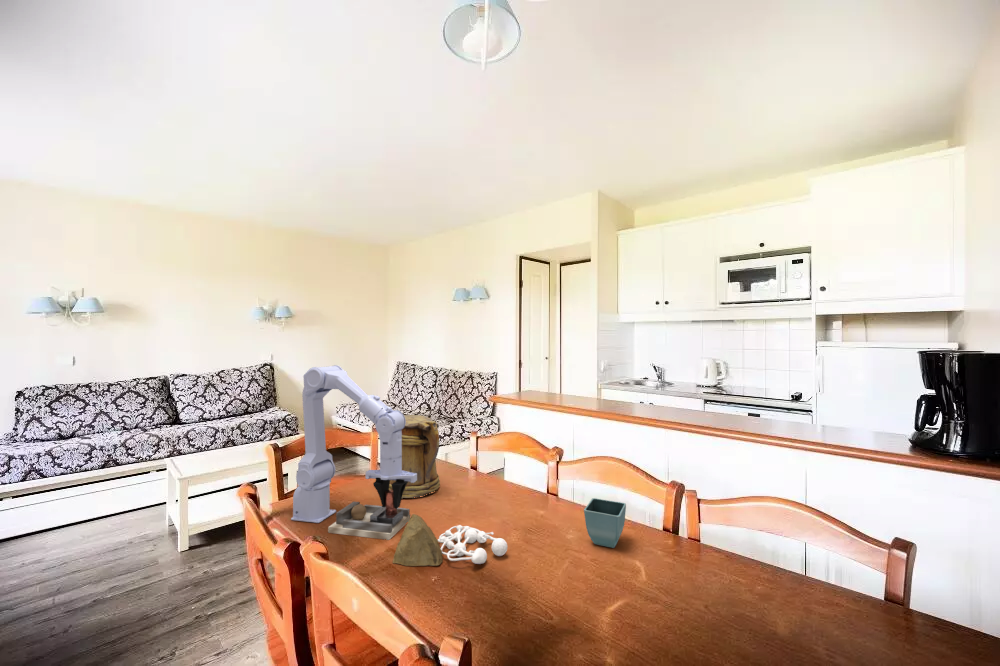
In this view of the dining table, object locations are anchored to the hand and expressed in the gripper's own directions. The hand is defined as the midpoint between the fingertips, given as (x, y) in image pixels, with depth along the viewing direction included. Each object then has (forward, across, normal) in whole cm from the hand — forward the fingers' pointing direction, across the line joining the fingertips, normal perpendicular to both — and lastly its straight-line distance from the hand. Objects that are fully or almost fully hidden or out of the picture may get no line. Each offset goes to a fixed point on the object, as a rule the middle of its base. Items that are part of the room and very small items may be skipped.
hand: (391, 506), depth 110 cm
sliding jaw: (+4, -1, 0) cm, 4 cm away
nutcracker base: (+6, -6, 0) cm, 9 cm away
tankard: (+6, -5, +27) cm, 28 cm away
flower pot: (+6, +57, +5) cm, 57 cm away
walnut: (+2, -10, 0) cm, 10 cm away
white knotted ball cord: (+6, +24, -6) cm, 26 cm away
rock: (+6, +15, -14) cm, 21 cm away
